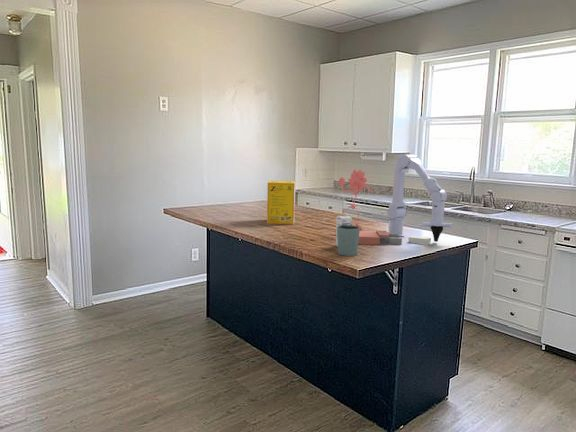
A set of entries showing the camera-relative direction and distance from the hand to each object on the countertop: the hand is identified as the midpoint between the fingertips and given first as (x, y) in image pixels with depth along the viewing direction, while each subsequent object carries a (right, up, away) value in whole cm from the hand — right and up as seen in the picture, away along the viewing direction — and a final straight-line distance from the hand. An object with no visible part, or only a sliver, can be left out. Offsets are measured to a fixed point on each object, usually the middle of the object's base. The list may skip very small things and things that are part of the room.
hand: (435, 241), depth 222 cm
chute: (-8, -1, +1) cm, 8 cm away
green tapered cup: (-48, -4, -26) cm, 54 cm away
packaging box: (-79, +9, +55) cm, 96 cm away
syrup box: (-48, -2, -12) cm, 49 cm away
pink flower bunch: (-36, +3, +24) cm, 44 cm away
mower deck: (-28, 0, +2) cm, 29 cm away
